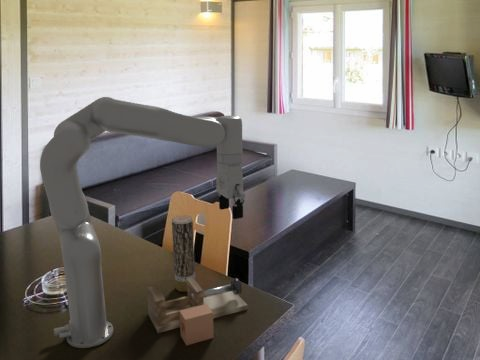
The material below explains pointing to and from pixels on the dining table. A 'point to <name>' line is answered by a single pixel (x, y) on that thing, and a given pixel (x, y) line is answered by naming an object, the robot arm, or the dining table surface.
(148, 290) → the stand
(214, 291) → the shaft
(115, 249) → the dining table surface
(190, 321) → the rectangular block
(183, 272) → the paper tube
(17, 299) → the dining table surface
